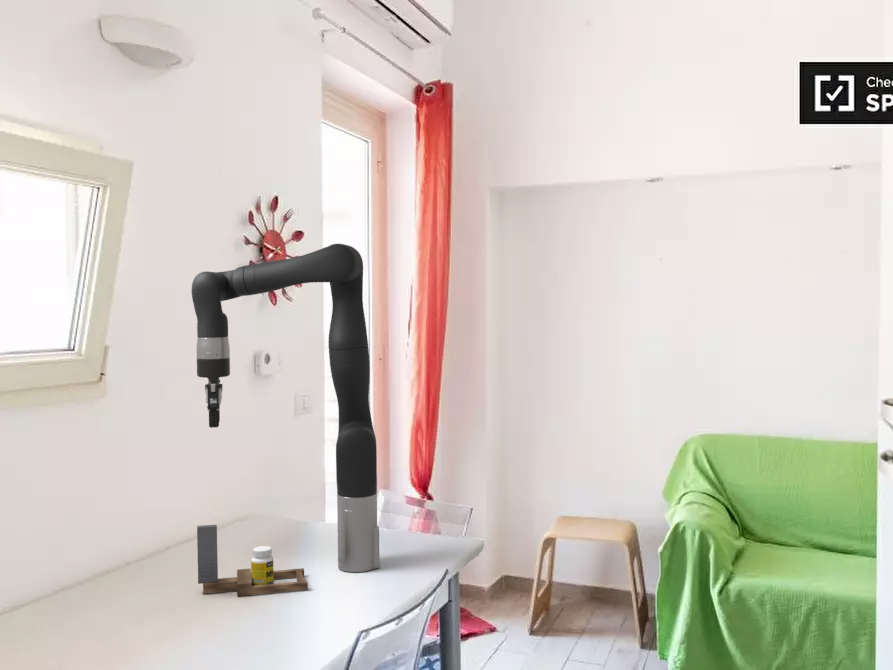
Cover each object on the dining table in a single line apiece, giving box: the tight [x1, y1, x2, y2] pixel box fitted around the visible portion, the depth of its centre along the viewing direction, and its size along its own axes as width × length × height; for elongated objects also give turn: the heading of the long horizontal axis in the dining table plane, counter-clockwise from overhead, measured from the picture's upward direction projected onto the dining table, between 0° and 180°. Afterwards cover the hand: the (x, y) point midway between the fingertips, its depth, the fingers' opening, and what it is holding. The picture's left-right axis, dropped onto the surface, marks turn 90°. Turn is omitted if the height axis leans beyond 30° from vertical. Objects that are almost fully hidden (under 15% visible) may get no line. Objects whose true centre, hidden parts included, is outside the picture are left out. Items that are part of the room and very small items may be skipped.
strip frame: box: [196, 524, 309, 597], centre depth 176 cm, size 23×10×14 cm, turn 104°
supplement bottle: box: [250, 545, 275, 586], centre depth 176 cm, size 5×5×8 cm
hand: (214, 424), depth 192 cm, fingers open, 8 cm apart
